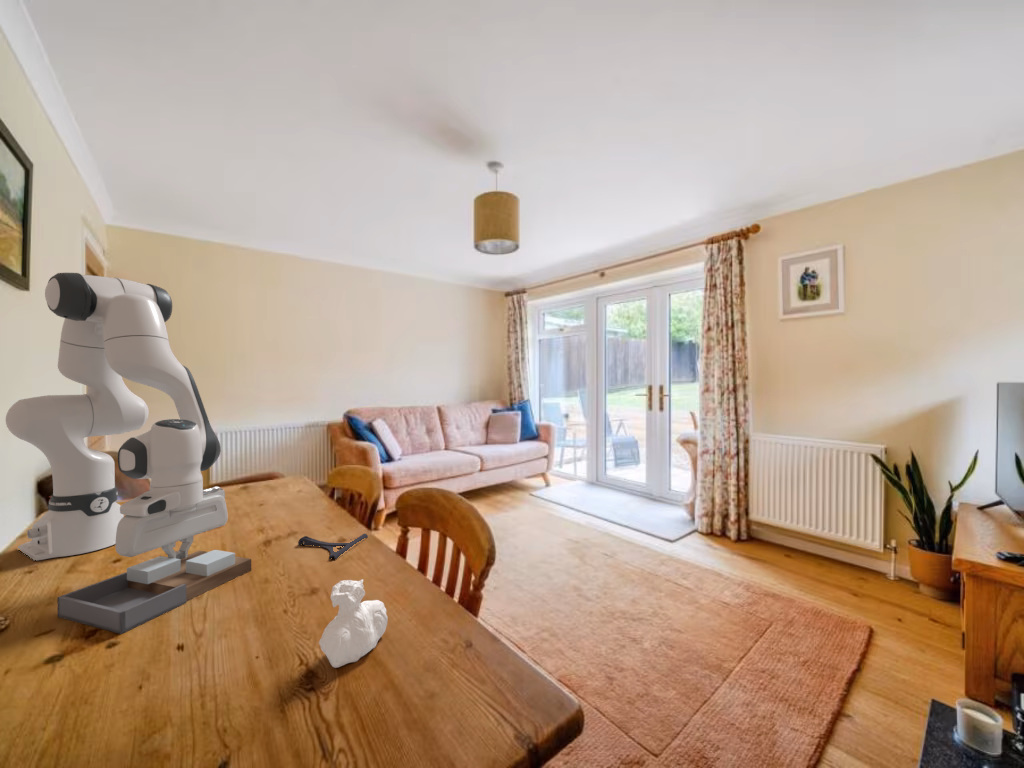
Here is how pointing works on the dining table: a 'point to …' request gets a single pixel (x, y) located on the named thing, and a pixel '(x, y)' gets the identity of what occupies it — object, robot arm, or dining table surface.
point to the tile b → (210, 562)
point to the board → (195, 578)
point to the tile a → (153, 569)
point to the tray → (117, 604)
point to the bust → (352, 624)
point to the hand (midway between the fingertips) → (178, 560)
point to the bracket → (330, 545)
